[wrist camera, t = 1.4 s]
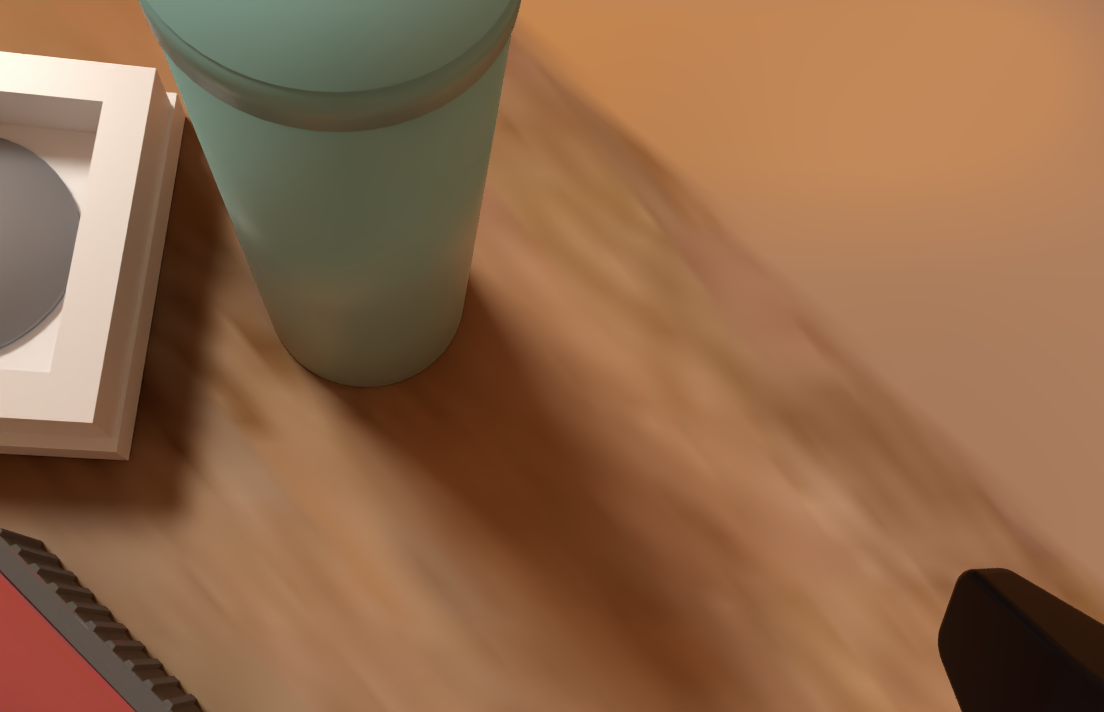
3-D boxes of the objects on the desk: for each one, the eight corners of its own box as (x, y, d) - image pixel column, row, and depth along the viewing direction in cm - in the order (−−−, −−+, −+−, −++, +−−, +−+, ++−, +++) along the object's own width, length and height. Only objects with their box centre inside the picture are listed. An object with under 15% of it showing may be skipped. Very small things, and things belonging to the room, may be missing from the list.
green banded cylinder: (459, 395, 23) (522, 113, 11) (254, 381, 23) (78, 65, 10) (471, 214, 25) (537, -213, 12) (278, 196, 24) (148, -274, 12)
